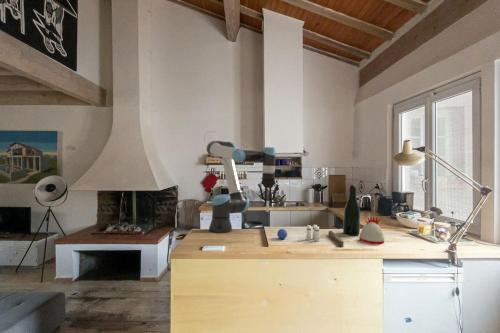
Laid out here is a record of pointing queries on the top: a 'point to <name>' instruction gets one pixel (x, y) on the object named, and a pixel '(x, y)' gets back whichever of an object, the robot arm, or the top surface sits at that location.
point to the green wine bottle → (352, 214)
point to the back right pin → (316, 234)
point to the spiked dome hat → (372, 232)
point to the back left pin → (314, 231)
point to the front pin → (308, 232)
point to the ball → (282, 233)
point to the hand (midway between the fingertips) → (267, 211)
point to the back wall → (336, 238)
